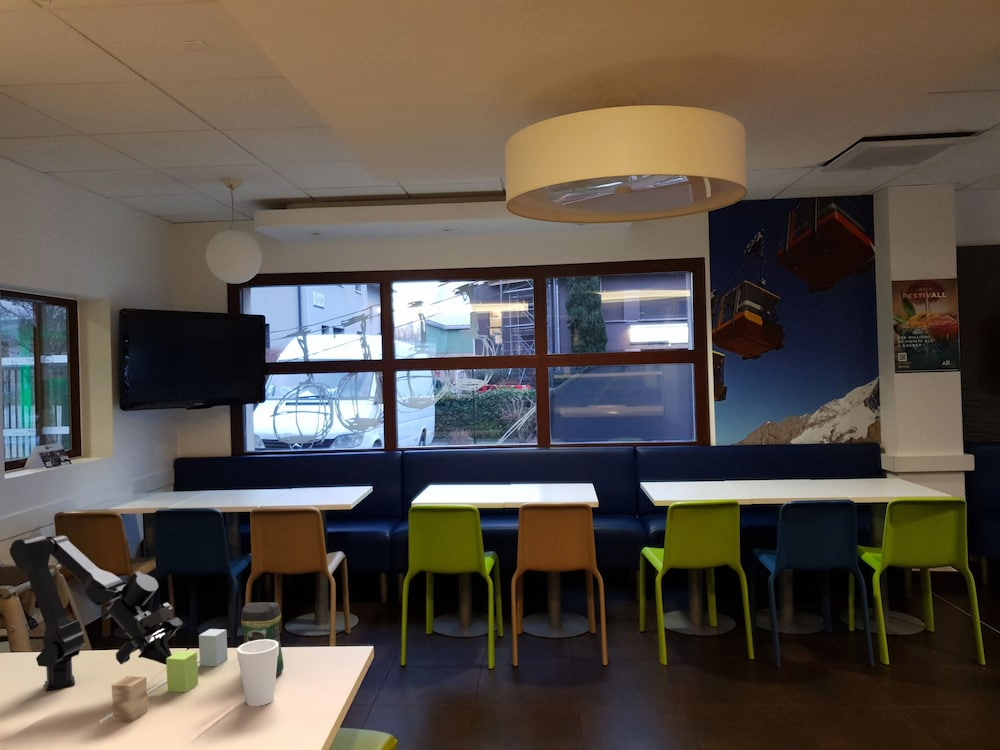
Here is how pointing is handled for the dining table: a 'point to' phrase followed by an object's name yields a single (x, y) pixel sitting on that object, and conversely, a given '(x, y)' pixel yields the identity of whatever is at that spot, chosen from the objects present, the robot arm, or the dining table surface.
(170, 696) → the dining table surface
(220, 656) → the blue-grey block
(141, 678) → the brown wooden block
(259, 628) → the coffee jar
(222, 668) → the dining table surface
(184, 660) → the green block
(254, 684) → the foam cup
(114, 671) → the dining table surface
